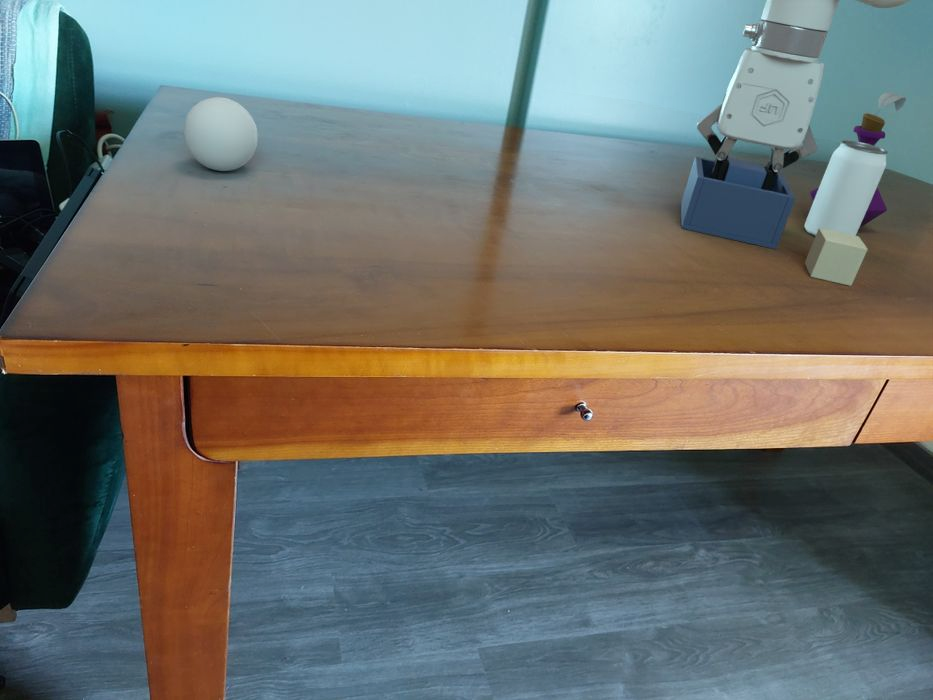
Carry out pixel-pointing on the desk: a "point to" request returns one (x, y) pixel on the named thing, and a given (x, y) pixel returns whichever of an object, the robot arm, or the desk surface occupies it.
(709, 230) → the blue bin
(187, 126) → the ball
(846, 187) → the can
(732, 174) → the blue block
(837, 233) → the cream block
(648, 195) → the desk surface
